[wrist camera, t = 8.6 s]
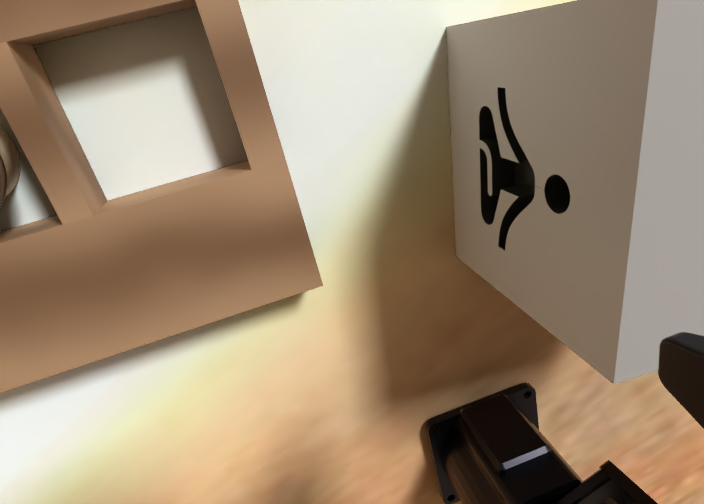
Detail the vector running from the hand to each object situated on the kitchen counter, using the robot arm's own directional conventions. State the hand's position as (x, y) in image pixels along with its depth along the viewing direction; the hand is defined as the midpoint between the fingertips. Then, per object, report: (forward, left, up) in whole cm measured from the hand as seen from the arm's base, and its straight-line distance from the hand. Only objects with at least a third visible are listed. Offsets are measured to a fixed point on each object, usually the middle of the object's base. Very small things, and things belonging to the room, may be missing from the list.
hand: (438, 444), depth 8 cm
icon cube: (+1, -12, -13) cm, 18 cm away
